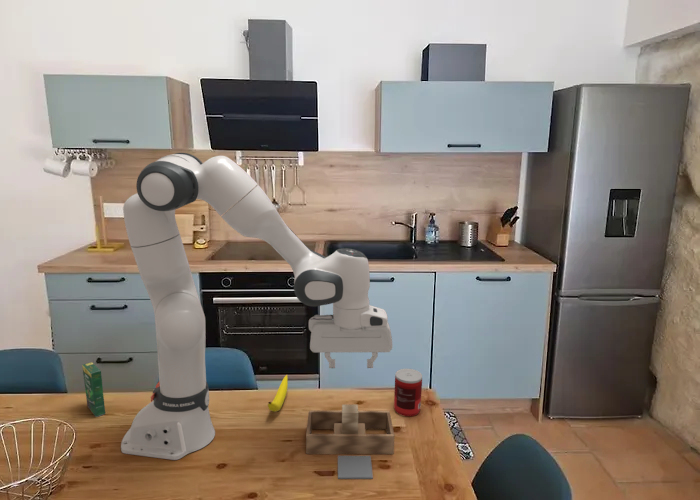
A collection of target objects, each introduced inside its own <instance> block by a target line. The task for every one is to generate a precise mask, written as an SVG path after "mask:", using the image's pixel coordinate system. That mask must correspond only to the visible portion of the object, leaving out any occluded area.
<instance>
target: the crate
mask: <svg viewBox="0 0 700 500" xmlns="http://www.w3.org/2000/svg"><path fill="white" fill-rule="evenodd" d="M390 411H391V410H358V434H342V410H308V415H307V424H306V434H305V435H306V437H305V439H306V440H305V450H306V451H305V455H394V450H395V433H394V428H393V423H392V418H391V412H390ZM312 430H333V433H312ZM366 430H386V431H385V432H386V433H380V434H379V433H366Z"/></svg>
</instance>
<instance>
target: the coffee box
mask: <svg viewBox="0 0 700 500" xmlns="http://www.w3.org/2000/svg"><path fill="white" fill-rule="evenodd" d="M81 367H82V374H83V383H84V391H85V397H86V405H87V409H89V410H90V411H91V413H92V414H93V416H94V417H96V418H97V417H101V416H103V415H106V408H105V399H104V398H105V397H104V396H105V395H104V389H103V388H104V387H103V377H102V370H101V369H100V368H99V367H97V366H96V364H94V363H93V362H91V361H90V362H86V363H84V364H82V365H81Z"/></svg>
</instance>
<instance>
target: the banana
mask: <svg viewBox="0 0 700 500" xmlns="http://www.w3.org/2000/svg"><path fill="white" fill-rule="evenodd" d="M288 382H289V378H288V374H286V375H285V376H284V377H283V379H282V381H281V383H280V384H279V387H278V389H277V392H276V394H275V396H274V398H273V400H272V401H268V403H267V408H268V409H269V411H272V412H278V411H280V410H281V409H282V407H283V404H284V402H285V398H286V396H287V392H288V386H289V385H288Z"/></svg>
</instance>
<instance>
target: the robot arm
mask: <svg viewBox="0 0 700 500" xmlns="http://www.w3.org/2000/svg"><path fill="white" fill-rule="evenodd" d="M197 200H201V201H204V202H206V203H208V204H209V205H210V206H211V207H212V209H214V211H215V212H216V213H217V214H218V215H219V216H220V217H221V218H222V219H223V220H224V222H225V223H226V224H227V225H228V226H229V227H231V228H232V229H233V230H234V231H236V232H237V233H239V234H240V235H241V236H243V237H246V238H252V239H253V238H254V239H259V240H262V241H264V242H266V243H267V244H269V245H270V246H271V247H272V248H273V249H274V250H275V251H276V252H277V254H279V256H280V257H281V258H282V259H284V260H285V262H286V263H288V265H289V266H290V268H291V269H292V272H293V275H294V280H293V281H294V282H293V291H294V292H293V293H294V294H295V297H296V299H297V300H298V301H299V302H300V303H302V304H303V305H305V306H308V307H320V306H321V307H322V306H327V305H331V304H332V314H324V315H322V314H321V315H320V314H315V315H314V316H312V317H310V318H309V320H308V330H309V331H310V332H311V333H310V342H309V349H310V351H311V352H312V353H316V354H317V353H324V358H325V359H326V360H327V362H328V368H329V369H336V358H332V357H331V353H371V355H372V356H371V357H370V358H367V359H366V368H367V369H374V363H375V361H376V360H377V358H378V355H379V354H378V353H391V350H393V338H392V337H393V336H392V331H391V327H390V324H389V322H388V321H389V320H388V317H389V316H388V314H387V312H386V310H385V309H384V308H380V307H378V306H377V307H376V306H373V305H370V299H369V290H370V287H371V286H370V285H371V282H370V265H369V260H368V258H367V256H366V255H365V253H363V252H362V251H359V250H357V249H354V248H353V249H352V248H347V247H346V248H338V249H336V250H335V251H334V252H333V253H332V254H329V255H328V256H325V255H323V254H321V253H319V252H317V251H315V250H313V249H311V248H309V246H307V245H306V244H305V243H304V242H303V241H302V240H301V238H299V237H298V235H296V234H295V232H294V231H293V230H292V229H291V228H290V227H289V226H288V225H287V224H286V222H285V221H284V219H283V218H282V216H281V215H280V213H279V211H278V210H277V208H276V207H275V205H274V203H273V202H272V200H271V199H270V198H269V196H268V195H267V194H266V192H265V191H264V189H262V187H261V186H260V185H259V184H258V183H257V181H256V180H255V179H254V178H253V177H251V175H250V174H249V173H248V172H246V170H244V168H242V167H241V166H240V165H239V164H238V163H236V162H235V161H234V160H233V159H231V158H230V157H228V156H227V155H216V156H213V157H210V158H208V159H207V160H205V161H204V162H203V161H201V159H199V157H197V156H195V155H193V154H191V153H186V152H176V153H173V154H168V155H165V156H162V157H160V158H158V159H156V160H155V161H153V162H150V163H149V164H147V165H146V166H145V167H143V169H142V170H141V171H140V172H139V175H138V176H137V180H136V193H134V194H131V196H129V197H128V198H127V199H126V200H125V201H124V204H123V207H122V211H123V219H124V227H125V230H126V234H127V238H128V242H129V245H130V249H131V251H132V255H133V257H134V261H135V263H136V266H137V270H138V273H139V275H140V278H141V280H142V282H143V285H144V286H145V289H146V293H147V295H148V297H149V301H150V303H151V305H152V308H153V314H154V322H155V323H154V324H155V335H156V336H155V339H156V348H157V349H156V352H157V365H158V366H157V367H158V378H159V381H158V382H157V383H156V385H155V388H154V390H153V391H152V394H151V396H150V402H149V403H148V404H147V405H145V406H144V407H143V408H142V409H140V410H139V411H138V413H137V414H136V415H135V417H134V418H133V420H132V423H131V426H130V428H129V429H128V430H127V432H126V433H125V434H124V435H123V437H122V439H121V442H120V450H121V453H123V454H127V455H133V456H134V455H135V456H141V457H149V458H156V459H157V458H158V459H165V460H171V461H177V460H180V459H181V458H184V457H186V455H188V454H191V453H193V452H196V451H199V450H201V449H203V448H204V447H207V445H209V444H210V443H211V442H212V441H213V440H214V438H215V436H216V430H215V427H214V426H213V423H212V422H213V421H212V418H211V415H210V414H211V413H210V410H209V404H210V390H209V383H208V382H207V374H206V373H207V371H206V334H207V333H206V316H205V313H204V309H203V307H202V304H201V300H200V297H199V294H198V291H197V287H196V284H195V281H194V277H193V273H192V270H191V266H190V263H189V260H188V256H187V253H186V249H185V246H184V243H183V240H182V235H181V233H180V229H179V227H178V223H177V221H176V220H177V219H176V210H178V209H180V208H183V207H184V206H186V205H190V204H191V203H194V202H195V201H197Z"/></svg>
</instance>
